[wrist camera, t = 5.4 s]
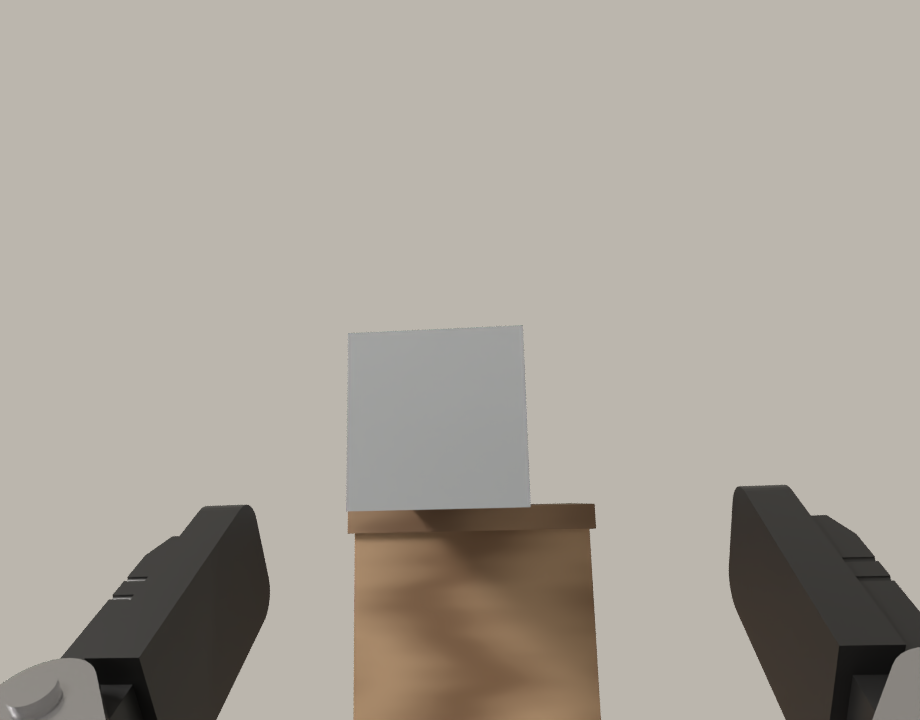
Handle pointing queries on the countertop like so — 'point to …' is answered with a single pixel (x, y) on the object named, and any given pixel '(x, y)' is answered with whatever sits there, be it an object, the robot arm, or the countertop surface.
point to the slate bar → (437, 420)
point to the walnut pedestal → (475, 614)
